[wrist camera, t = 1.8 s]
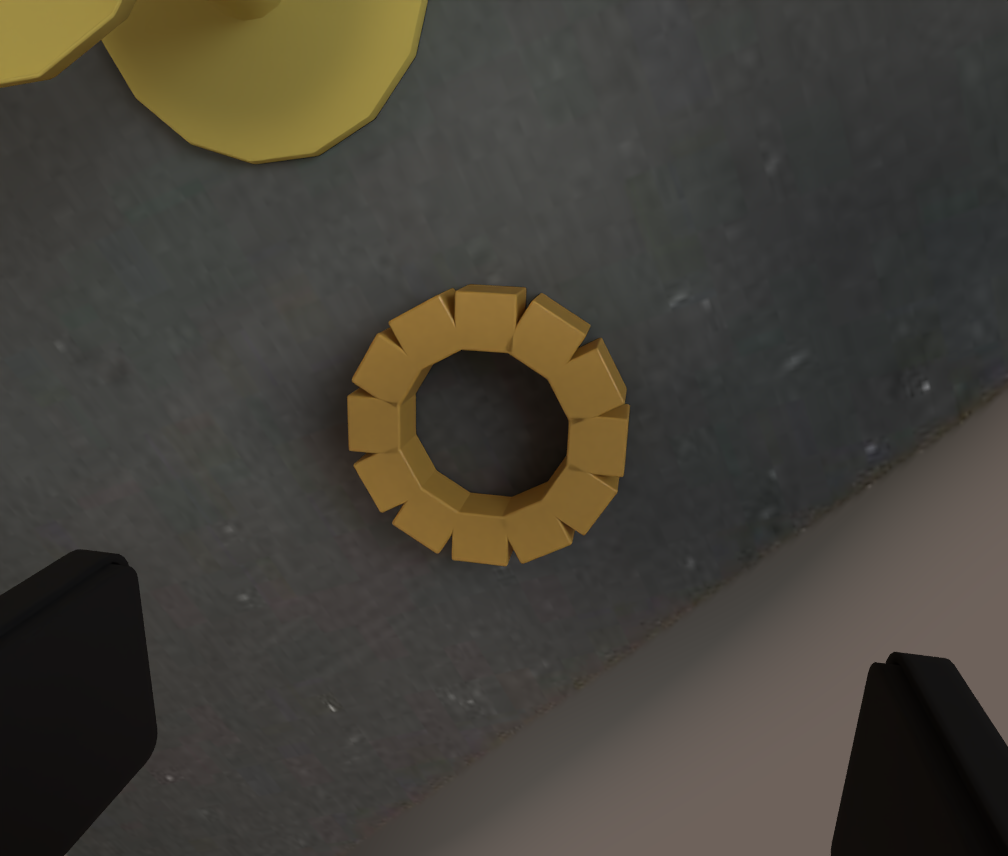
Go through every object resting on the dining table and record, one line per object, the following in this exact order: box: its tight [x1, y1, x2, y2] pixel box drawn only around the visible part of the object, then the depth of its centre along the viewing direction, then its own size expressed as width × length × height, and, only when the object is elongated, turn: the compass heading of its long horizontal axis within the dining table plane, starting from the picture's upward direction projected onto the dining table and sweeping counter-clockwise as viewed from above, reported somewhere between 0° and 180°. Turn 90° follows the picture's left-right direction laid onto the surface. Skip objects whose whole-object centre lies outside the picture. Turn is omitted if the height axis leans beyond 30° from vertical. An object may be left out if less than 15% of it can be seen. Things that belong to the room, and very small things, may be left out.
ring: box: [347, 284, 630, 566], centre depth 22 cm, size 8×8×2 cm
